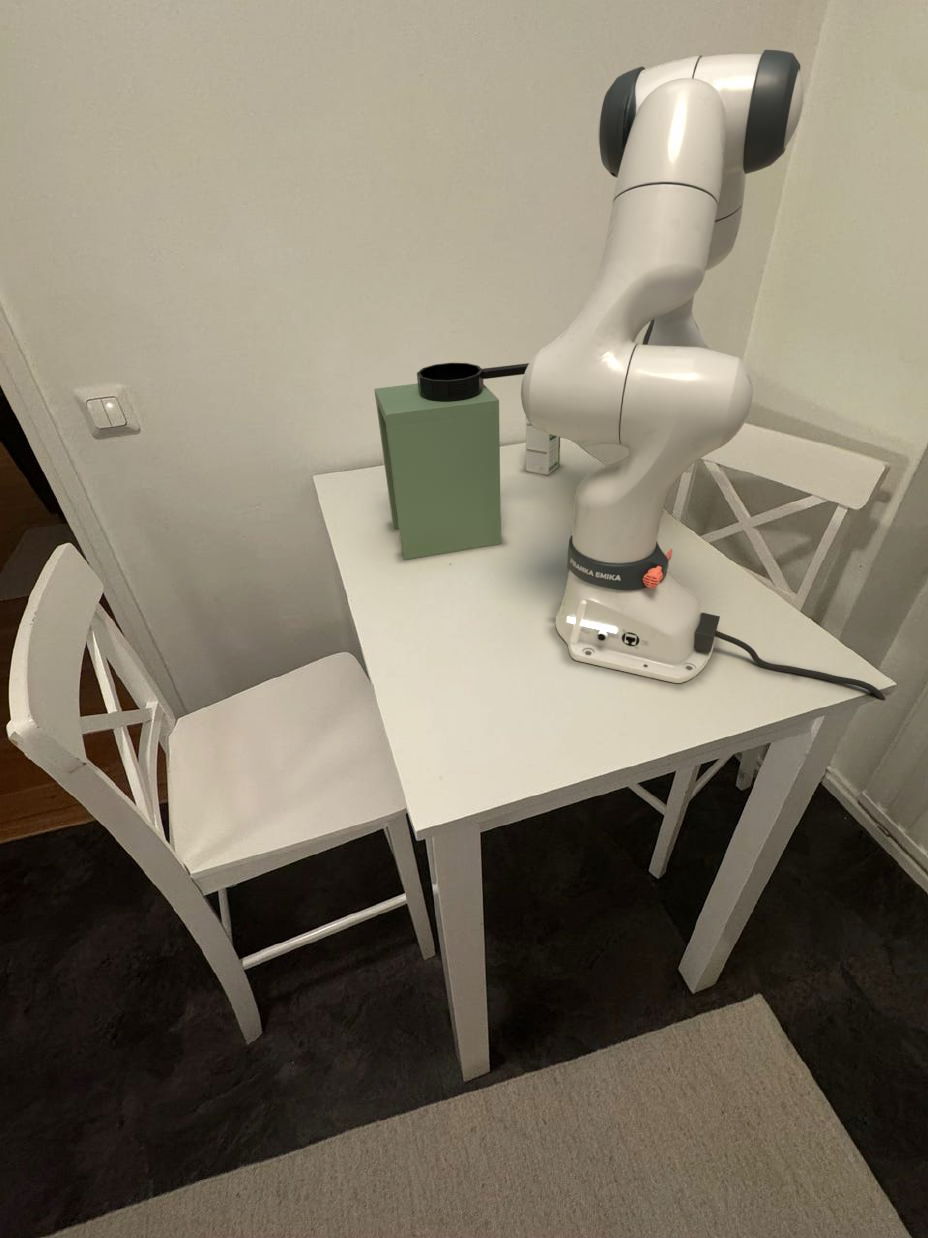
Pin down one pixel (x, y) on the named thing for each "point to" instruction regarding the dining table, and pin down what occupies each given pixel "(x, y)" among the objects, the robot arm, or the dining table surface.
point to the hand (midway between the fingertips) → (554, 360)
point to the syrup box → (541, 451)
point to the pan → (459, 380)
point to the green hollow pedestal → (441, 470)
